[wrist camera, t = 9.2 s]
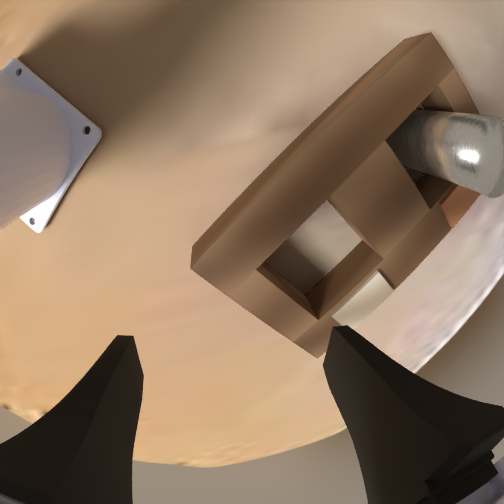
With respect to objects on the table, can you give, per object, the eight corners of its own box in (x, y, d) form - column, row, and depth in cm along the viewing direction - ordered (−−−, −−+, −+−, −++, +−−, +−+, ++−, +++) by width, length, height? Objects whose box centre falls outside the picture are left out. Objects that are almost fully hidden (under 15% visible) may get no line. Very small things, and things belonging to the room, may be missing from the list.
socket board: (192, 246, 19) (190, 270, 16) (404, 39, 14) (433, 31, 11) (305, 332, 23) (318, 361, 20) (474, 157, 19) (503, 165, 16)
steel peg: (375, 123, 17) (465, 135, 10) (416, 101, 16) (506, 106, 9) (397, 176, 18) (482, 212, 11) (435, 151, 18) (520, 176, 11)
